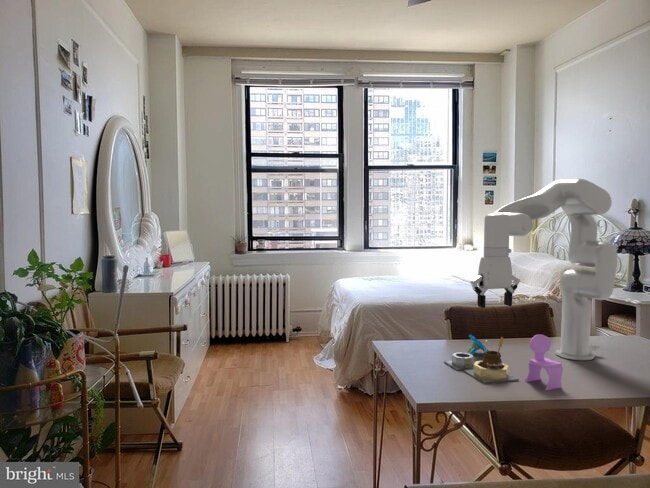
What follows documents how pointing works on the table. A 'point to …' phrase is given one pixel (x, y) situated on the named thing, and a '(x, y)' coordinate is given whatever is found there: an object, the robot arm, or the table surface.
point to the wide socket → (491, 374)
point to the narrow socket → (461, 361)
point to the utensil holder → (492, 358)
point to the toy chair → (544, 363)
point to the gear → (476, 345)
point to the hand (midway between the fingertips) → (494, 306)
